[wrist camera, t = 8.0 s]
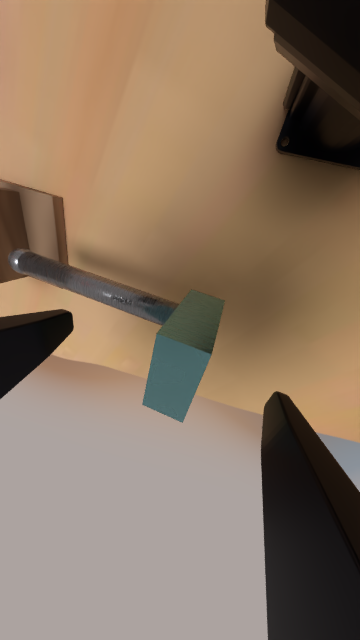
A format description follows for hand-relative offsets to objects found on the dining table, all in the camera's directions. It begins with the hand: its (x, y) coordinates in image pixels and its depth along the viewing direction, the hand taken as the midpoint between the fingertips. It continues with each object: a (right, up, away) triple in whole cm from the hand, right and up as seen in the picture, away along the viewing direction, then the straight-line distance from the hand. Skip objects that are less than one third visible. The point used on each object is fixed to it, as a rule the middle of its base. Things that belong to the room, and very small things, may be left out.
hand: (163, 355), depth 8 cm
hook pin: (-5, +4, +8) cm, 11 cm away
